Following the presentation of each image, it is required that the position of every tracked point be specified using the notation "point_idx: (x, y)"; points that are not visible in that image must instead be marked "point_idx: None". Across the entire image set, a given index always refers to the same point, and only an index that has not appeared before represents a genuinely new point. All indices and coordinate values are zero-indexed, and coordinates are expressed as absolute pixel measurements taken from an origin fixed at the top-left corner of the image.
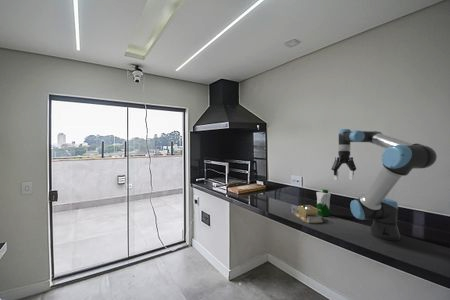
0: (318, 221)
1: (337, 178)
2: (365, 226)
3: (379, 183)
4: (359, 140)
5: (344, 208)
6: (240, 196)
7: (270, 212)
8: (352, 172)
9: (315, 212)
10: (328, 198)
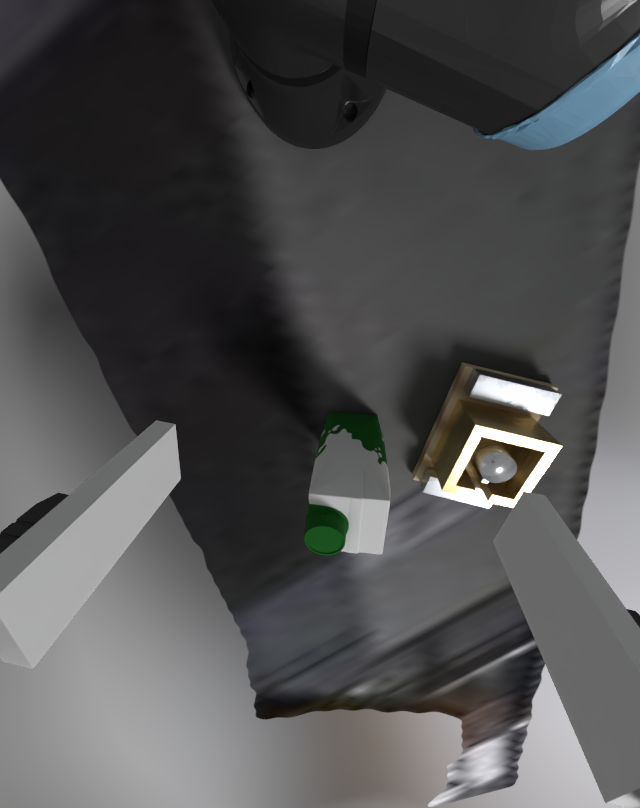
0: (490, 370)
1: (560, 522)
2: (289, 217)
3: None
4: None
5: None
6: (480, 700)
7: None
8: (46, 548)
9: (484, 418)
10: (342, 469)
